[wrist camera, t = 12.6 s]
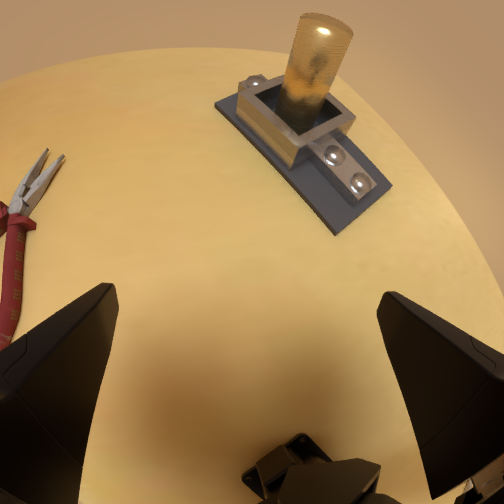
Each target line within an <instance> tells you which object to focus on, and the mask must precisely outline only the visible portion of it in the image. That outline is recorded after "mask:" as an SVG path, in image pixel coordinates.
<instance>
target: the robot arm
mask: <svg viewBox="0 0 504 504" xmlns="http://www.w3.org/2000/svg"><path fill="white" fill-rule="evenodd" d="M118 311H119V304H118V299H117V294H116V288H115V286H114V284H113V283H100V284H99V285H97V286H96V287H94V288H93V289H91V290H89V291H88V292H86V293H85V294H83V295H82V296H80V297H79V298H77V299H76V300H74V301H73V302H71V303H70V304H68V305H67V306H65V307H64V308H62V309H61V310H59V311H58V312H56V313H55V314H53V315H52V316H50V317H49V318H47V319H46V320H44V321H43V322H41V323H40V324H38V325H37V326H36V327H34V328H33V329H31V330H30V331H28V332H27V334H24V335H23V336H21V337H20V338H19V339H17V340H16V341H14V342H13V343H11V344H10V345H8V346H7V347H6V348H4V349H2V350H1V351H0V504H78V498H79V490H80V483H81V477H82V470H83V468H82V467H83V463H84V458H85V452H86V447H87V442H88V437H89V432H90V428H91V423H92V419H93V415H94V410H95V406H96V402H97V398H98V394H99V390H100V387H101V383H102V379H103V376H104V372H105V369H106V365H107V362H108V358H109V355H110V351H111V346H112V341H113V336H114V331H115V326H116V321H117V316H118ZM377 319H378V322H379V326H380V329H381V333H382V336H383V340H384V344H385V347H386V350H387V353H388V356H389V359H390V362H391V364H392V367H393V370H394V373H395V375H396V378H397V381H398V384H399V387H400V389H401V392H402V395H403V398H404V401H405V404H406V407H407V410H408V414H409V417H410V420H411V423H412V426H413V430H414V433H415V436H416V440H417V443H418V447H419V450H420V455H421V458H422V462H423V466H424V470H425V474H426V478H427V482H428V486H429V491H430V495H431V498H432V500H434V499H436V498H438V497H440V496H442V495H444V494H445V493H447V492H449V491H451V490H453V489H454V488H456V487H458V486H460V485H461V484H463V483H465V482H466V481H468V480H470V479H471V482H472V484H473V486H474V487H473V488H471V489H470V490H468V491H467V492H465V493H463V494H462V495H460V496H458V497H457V498H456V500H455V503H454V504H504V354H502V353H500V352H498V351H496V350H495V349H493V348H491V347H489V346H487V345H486V344H484V343H482V342H481V341H479V340H477V339H476V338H474V337H472V336H471V335H469V334H467V333H466V332H464V331H462V330H461V329H459V328H457V327H456V326H454V325H452V324H451V323H449V322H447V321H446V320H444V319H442V318H441V317H439V316H437V315H436V314H434V313H432V312H430V311H429V310H427V309H425V308H424V307H422V306H420V305H418V304H417V303H415V302H413V301H411V300H410V299H408V298H406V297H404V296H403V295H401V294H399V293H397V292H395V291H387V292H385V293H384V294H383V296H382V299H381V301H380V304H379V306H378V309H377ZM302 437H305V439H304V440H303V441H300V439H301V438H302ZM380 469H381V465H378V464H375V463H372V462H369V461H366V460H363V459H359V458H355V459H349V460H342V461H335V462H333V461H332V460H331V459H330V458H329V457H328V456H327V455H326V454H325V453H324V452H323V451H322V450H321V449H320V448H319V447H318V446H317V445H316V444H315V443H314V442H313V441H312V440H311V439H310V438H309V437H308V435H307V434H305V433H300V434H298V435H297V436H296V437H294V438H293V439H292V440H290V441H289V442H288V443H286V444H285V445H280V446H279V447H277V448H276V449H275V450H273V451H272V452H271V453H269V454H268V455H266V456H265V457H264V458H262V459H261V460H259V461H258V462H257V463H256V466H254V467H253V468H251V469H250V470H248V471H247V472H245V473H244V474H243V475H242V477H241V478H242V482H243V483H244V484H245V485H247V486H248V487H249V488H250V489H251V490H252V491H253V492H255V493H256V494H257V495H258V496H259V497H261V498H262V499H263V501H262V502H260V503H258V504H401V503H399V502H398V501H396V500H394V499H393V498H391V497H389V496H387V495H385V494H377V493H375V492H376V487H377V483H378V479H379V474H380ZM246 477H250V479H249V480H246V479H245V478H246Z"/></svg>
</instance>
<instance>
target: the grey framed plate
mask: <svg viewBox="0 0 504 504" xmlns="http://www.w3.org/2000/svg"><path fill="white" fill-rule="evenodd" d="M283 79H284V75H282V76H279V77H276V78H274V79H271V80H268V79H266V78H265V77H264V76H263V75H261V74H260V75H257V76H256V75H254V76H250V77H248V78H247V80H244V81H242V82H239V86H238V101H237V110H236V118H237V119H238V120H239V121H240V122H241V123H242V124H243V125H244V126H245V127H246V128H247V129H248V130H249V131H250V132H251V133H252V134H253V135H254V136H255V137H256V138H257V139H258V140H259V141H260V142H261V143H262V144H263V145H264V146H265V147H266V148H267V149H268V150H269V151H270V152H271V153H272V154H273V155H274V156H275V157H276V158H277V159H278V160H279V161H280V162H281V163H282V164H283V165H284V167H285V168H286V169H287V170H288V171H291V170H292V169H294V168H296V167H297V166H299V165H300V164H302V163H304V162H305V161H307V160H309V161H310V162H311V163H312V164H313V165H314V166H315V167H316V168H317V169H318V170H319V171H320V173H321V174H322V175H323V176H324V177H325V178H326V179H327V180H328V181H329V182H330V183H331V184H332V186H333V187H334V188H335V189H336V190H337V191H338V192H339V193H340V195H341V196H342V197H343V198H344V199H345V200H346V201H347V202H348V204H349V205H350V206H351V207H352V206H353V205H355V204H356V203H357V202H358V201H360V200H361V199H362V198H363V197H364V196H366V195H367V194H368V193H369V192H370V191H371V190H372V189H373V188H374V187H375V186H376V185H377V184H376V182H375V181H374V180H373V179H372V178H371V177H370V176H369V175H368V173H367V172H366V171H365V170H364V169H363V168H362V167H361V166H360V165H359V164H358V163H357V162H356V161H355V159H354V158H353V157H352V156H351V155H350V154H349V153H348V152H347V151H346V150H345V149H344V148H343V147H342V146H341V145H340V144H339V143H338V142H339V141H340V140H342V139H344V138H345V136H346V134H347V132H348V131H349V129H350V127H351V126H352V124H353V122H354V121H355V119H356V116H355V115H354V114H353V113H352V112H351V111H349V110H348V109H347V108H346V107H345V106H344V105H343V104H342V103H341V102H339V101H338V100H337V99H336V98H335V97H334V96H333V95H331V94H330V93H329V92H328V94H327V97H326V99H325V101H324V103H323V106H322V108H321V110H320V113H319V115H318V117H317V119H316V121H317V122H318V123H319V124H320V125H319V126H317V127H315V128H313V129H311V130H309V131H307V132H306V133H304V134H302V135H300V136H298V135H297V134H296V133H295V132H294V131H293V130H292V129H291V128H290V127H289V126H288V125H287V124H286V123H285V122H284V121H283V120H282V119H280V118H279V117H278V116H277V115H276V114H275V113H274V112H273V111H272V110H271V109H273V108H275V107H276V106H277V102H278V98H279V94H280V90H281V87H282V83H283Z"/></svg>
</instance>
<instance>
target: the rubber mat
mask: <svg viewBox="0 0 504 504" xmlns="http://www.w3.org/2000/svg"><path fill="white" fill-rule="evenodd" d="M278 77H279V76H278ZM273 79H274V78H273ZM270 80H271V79H270ZM237 101H238V93H236V94H233V95H231V96H229V97H226V98H224V99H222V100H220V101H218V102H215V108H216V109H217V110H218V111H219V112H221V113H222V114H223V115H224V116H225V117H226V118H227V119H228V120H229V121H230V122H231V123H232V124H233V125H234V126H235V127H236V128H237V129H238V130H239V131H240V132H241V133H242V134H243V135H244V136H245V137H246V138H247V139H248V140H249V141H250V142H251V143H252V144H253V145H254V146H255V147H256V149H257V150H258V151H259V152H260V153H261V154H262V155H263V156H264V157H265V158H266V159H267V160H268V161H269V162H270V163H271V164H272V165H273V166H274V167H275V169H276V170H277V171H278V172H279V173H280V174H281V175H282V176H283V177H284V178H285V179H286V180H287V182H288V183H289V184H290V185H291V186H292V187H293V188H294V189H295V190H296V191H297V193H298V194H299V195H300V196H301V197H302V198H303V199H304V200H305V202H306V203H307V204H308V205H309V206H310V207H311V208H312V210H313V211H314V212H315V213H316V214H317V215H318V217H319V218H320V219H321V220H322V221H323V222H324V224H325V225H326V226H327V227H328V228H329V229H330V231H331V232H332V233H333V234H334V235H336V234H338V233H339V232H340V231H341V230H342V229H344V228H345V227H346V226H347V225H348V224H350V223H351V222H352V221H353V220H354V219H355V218H357V217H358V216H359V215H360V214H361V213H362V212H364V211H365V210H366V209H367V208H368V207H369V206H371V205H372V204H373V203H374V202H375V201H376V200H377V199H379V198H380V197H381V196H382V195H383V194H384V193H385V192H387V191H388V190H389V189H390V188H391V187H392V186H393V185H392V184H391V183H390V182H389V181H388V180H387V178H386V177H385V176H384V175H383V174H382V173H381V172H380V171H379V169H378V168H377V167H376V166H375V165H374V164H373V163H372V162H371V161H370V160H369V159H368V158H367V156H366V155H365V154H364V153H363V152H362V151H361V150H360V149H359V148H358V147H357V146H356V145H355V144H354V143H353V142H352V141H351V140H350V139H349V138H348V137H347V136H345V138H344V139H342V140H340V141H339V142H338V143H339V144H340V145H341V146H342V147H343V148H344V149H345V150H346V151H347V152H348V153H349V154H350V155H351V156H352V157H353V158H354V159H355V161H356V162H357V163H358V164H359V165H360V166H361V167H362V168H363V169H364V170H365V171H366V172H367V173H368V175H369V176H370V177H371V178H372V179H373V180H374V181H375V182H376V184H377V185H376V186H375V187H374V188H373V189H372V190H371V191H370V192H369V193H368V194H367V195H366V196H364V197H363V198H362V199H361V200H360V201H358V202H357V203H356V204H355V205H353V206H352V207H351V206H350V205H349V204H348V202H347V201H346V200H345V199H344V198H343V197H342V196H341V195H340V193H339V192H338V191H337V190H336V189H335V188H334V187H333V186H332V184H331V183H330V182H329V181H328V180H327V179H326V178H325V177H324V176H323V175H322V174H321V173H320V171H319V170H318V169H317V168H316V167H315V166H314V165H313V164H312V163H311V162H310V161H309V160H307V161H305V162H304V163H302V164H300V165H299V166H297V167H296V168H294V169H292V170H291V171H288V170H287V169H286V168H285V167H284V165H283V164H282V163H281V162H280V161H279V160H278V159H277V158H276V157H275V156H274V155H273V154H272V153H271V152H270V151H269V150H268V149H267V148H266V147H265V146H264V145H263V144H262V143H261V142H260V141H259V140H258V139H257V138H256V137H255V136H254V135H253V134H252V133H251V132H250V131H249V130H248V129H247V128H246V127H245V126H244V125H243V124H242V123H241V122H240V121H239V120H238V119H237V118H236V110H237ZM275 109H276V107H275V108H273V109H271V110H272V111H273V112H274V113H275ZM319 125H320V124H319V123H318V122H317V121H316V122H315V124H314V126H313V128H315V127H317V126H319Z"/></svg>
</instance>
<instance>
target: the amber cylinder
mask: <svg viewBox="0 0 504 504" xmlns="http://www.w3.org/2000/svg"><path fill="white" fill-rule="evenodd" d="M352 37H353V32H352V30H351V28H350V27H348V26H347V25H346V24H345V23H343V22H341V21H340V20H338V19H335V18H333V17H330V16H327V15H323V14H318V13H306V14H303V15H301V17H300V20H299V23H298V27H297V31H296V35H295V38H294V42H293V45H292V49H291V53H290V56H289V60H288V64H287V68H286V71H285V75H284V79H283V83H282V87H281V90H280V94H279V98H278V102H277V106H276V109H275V114H276V115H277V116H278V117H279V118H280V119H282V120H283V121H284V122H285V123H286V124H287V125H288V126H289V127H290V128H291V129H292V130H293V131H294V132H295V133H296V134H297V135H298V136H300V135H302V134H304V133H306V132H307V131H309V130H311V129H313V126H314V124H315V122H316V119H317V117H318V115H319V113H320V110H321V108H322V106H323V103H324V101H325V99H326V97H327V94H328V92H329V90H330V87H331V85H332V83H333V81H334V78H335V76H336V74H337V71H338V69H339V67H340V64H341V62H342V59H343V57H344V55H345V53H346V50H347V48H348V46H349V44H350V41H351V39H352Z"/></svg>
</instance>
